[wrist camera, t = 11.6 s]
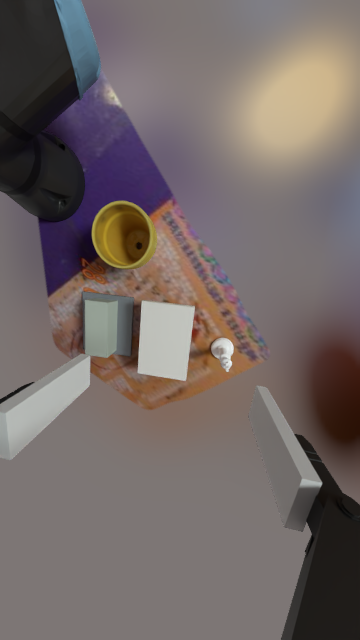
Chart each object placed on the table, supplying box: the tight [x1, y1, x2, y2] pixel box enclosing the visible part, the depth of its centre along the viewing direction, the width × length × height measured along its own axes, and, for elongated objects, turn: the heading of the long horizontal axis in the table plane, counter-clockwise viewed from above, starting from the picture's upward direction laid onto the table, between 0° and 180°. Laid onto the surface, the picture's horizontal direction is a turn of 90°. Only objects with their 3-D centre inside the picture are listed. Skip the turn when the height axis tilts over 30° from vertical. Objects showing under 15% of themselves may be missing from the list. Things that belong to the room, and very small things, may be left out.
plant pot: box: [92, 201, 157, 269], centre depth 35 cm, size 10×10×10 cm
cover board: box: [138, 300, 195, 381], centre depth 37 cm, size 15×10×2 cm, turn 174°
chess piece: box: [211, 338, 234, 372], centre depth 37 cm, size 5×5×10 cm
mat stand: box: [82, 292, 134, 358], centre depth 42 cm, size 14×12×5 cm
